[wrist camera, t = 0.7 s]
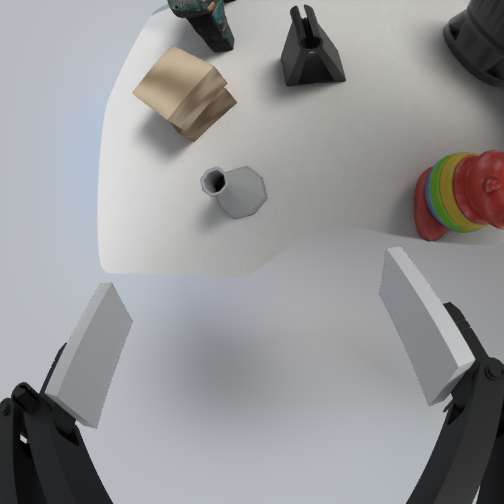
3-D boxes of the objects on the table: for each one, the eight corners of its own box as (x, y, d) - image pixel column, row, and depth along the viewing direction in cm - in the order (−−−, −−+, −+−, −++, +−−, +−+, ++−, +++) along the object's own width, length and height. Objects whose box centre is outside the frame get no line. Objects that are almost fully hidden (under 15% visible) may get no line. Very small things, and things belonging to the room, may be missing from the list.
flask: (249, 157, 38) (225, 136, 28) (276, 199, 37) (259, 190, 28) (209, 186, 40) (174, 174, 30) (233, 227, 39) (203, 227, 30)
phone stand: (286, 86, 35) (269, 41, 24) (281, 57, 35) (264, 9, 23) (345, 81, 33) (348, 33, 21) (337, 52, 32) (336, 2, 21)
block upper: (187, 61, 34) (172, 45, 29) (227, 83, 33) (213, 66, 28) (150, 104, 36) (131, 93, 31) (185, 131, 35) (167, 120, 30)
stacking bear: (419, 244, 32) (486, 259, 15) (401, 172, 32) (454, 132, 15) (478, 227, 30) (555, 230, 12) (461, 159, 29) (529, 124, 12)
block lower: (205, 74, 38) (192, 60, 34) (237, 103, 38) (226, 89, 33) (167, 110, 41) (150, 100, 36) (194, 142, 40) (179, 133, 35)
